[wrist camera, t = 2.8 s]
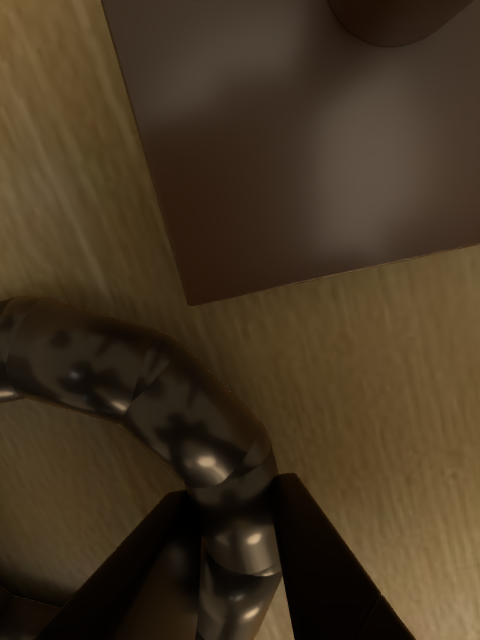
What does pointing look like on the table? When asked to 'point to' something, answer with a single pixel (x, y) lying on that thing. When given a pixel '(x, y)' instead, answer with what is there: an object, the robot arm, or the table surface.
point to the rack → (304, 133)
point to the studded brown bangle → (155, 446)
